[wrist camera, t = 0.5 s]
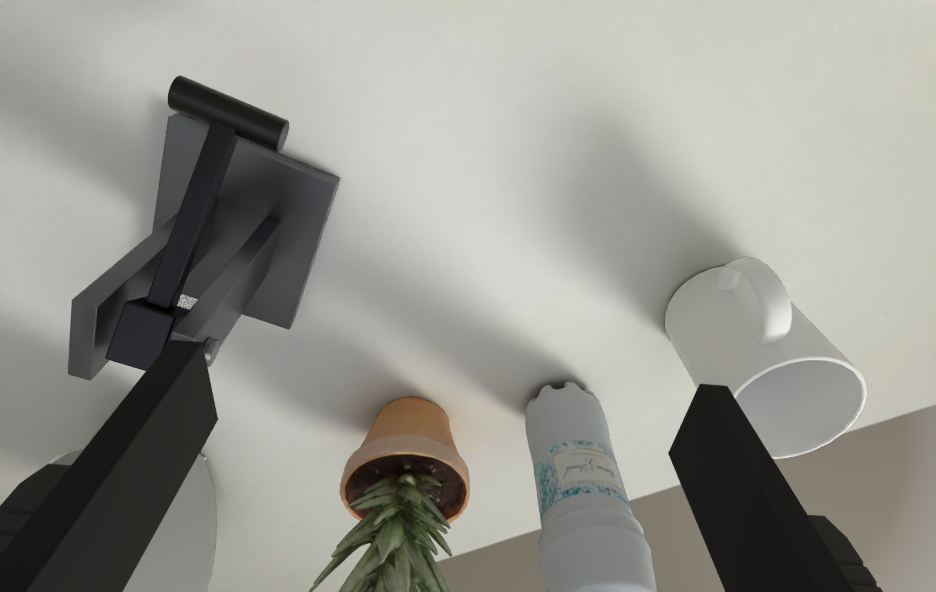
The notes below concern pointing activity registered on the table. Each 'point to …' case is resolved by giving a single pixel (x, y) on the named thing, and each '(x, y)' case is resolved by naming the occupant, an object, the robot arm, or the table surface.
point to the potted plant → (401, 499)
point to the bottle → (583, 498)
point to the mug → (764, 356)
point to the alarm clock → (177, 536)
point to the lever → (190, 216)
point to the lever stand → (216, 248)
